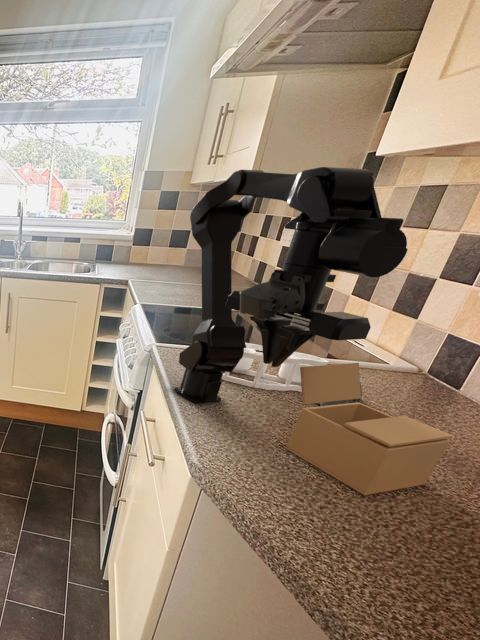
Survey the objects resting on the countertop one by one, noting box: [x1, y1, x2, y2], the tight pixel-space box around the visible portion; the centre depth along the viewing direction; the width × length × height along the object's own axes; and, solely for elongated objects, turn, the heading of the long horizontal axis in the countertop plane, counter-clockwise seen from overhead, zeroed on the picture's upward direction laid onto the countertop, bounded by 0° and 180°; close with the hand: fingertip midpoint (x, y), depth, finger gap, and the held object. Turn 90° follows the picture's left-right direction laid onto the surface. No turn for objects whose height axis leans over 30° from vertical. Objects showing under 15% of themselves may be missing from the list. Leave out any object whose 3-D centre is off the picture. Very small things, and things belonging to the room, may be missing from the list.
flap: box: [300, 362, 361, 405], centre depth 66 cm, size 6×12×1 cm
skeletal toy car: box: [221, 342, 330, 393], centre depth 93 cm, size 20×11×7 cm, turn 54°
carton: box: [285, 402, 454, 496], centre depth 63 cm, size 12×12×8 cm
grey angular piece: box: [316, 377, 363, 406], centre depth 84 cm, size 10×7×12 cm
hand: (270, 365), depth 67 cm, fingers closed
